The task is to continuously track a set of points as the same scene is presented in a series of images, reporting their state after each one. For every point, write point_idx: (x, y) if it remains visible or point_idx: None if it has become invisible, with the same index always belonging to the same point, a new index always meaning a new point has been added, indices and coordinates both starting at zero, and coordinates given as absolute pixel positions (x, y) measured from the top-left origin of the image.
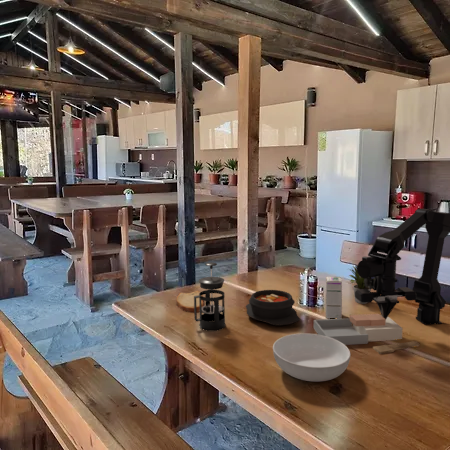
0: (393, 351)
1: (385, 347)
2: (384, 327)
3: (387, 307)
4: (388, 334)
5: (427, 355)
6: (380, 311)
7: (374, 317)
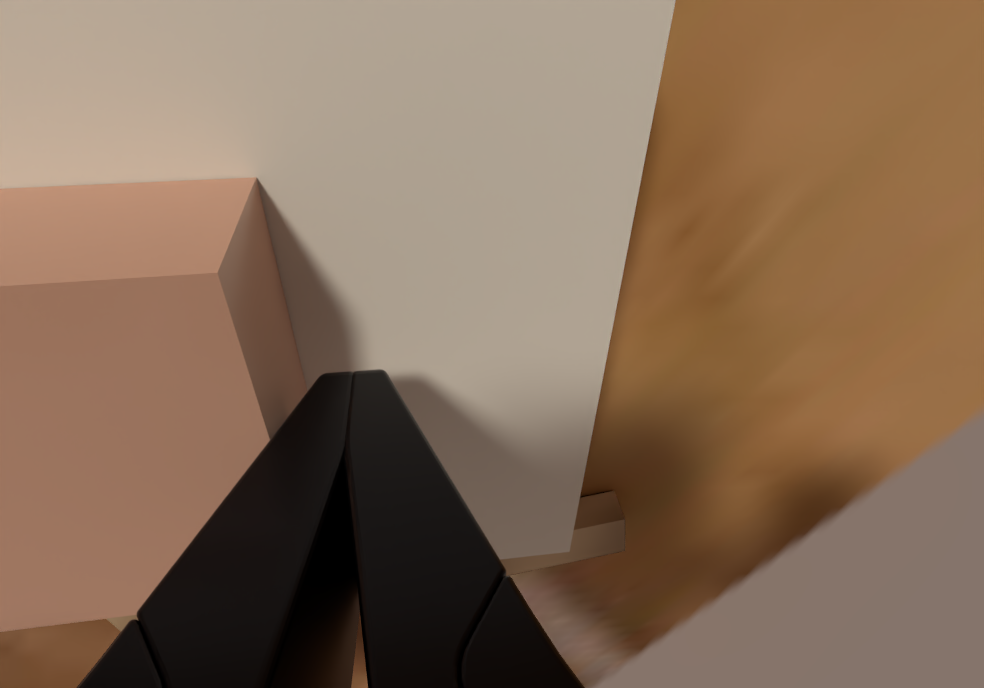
0: None
1: None
2: None
3: None
4: None
5: (565, 623)
6: (203, 559)
7: (15, 528)
